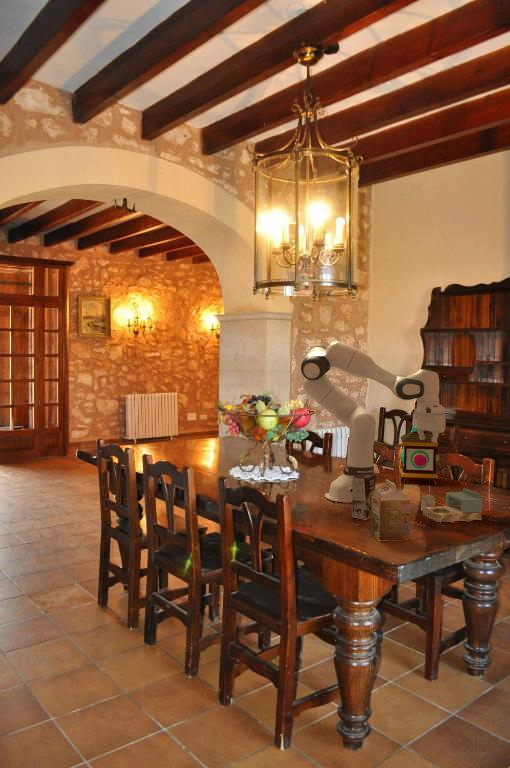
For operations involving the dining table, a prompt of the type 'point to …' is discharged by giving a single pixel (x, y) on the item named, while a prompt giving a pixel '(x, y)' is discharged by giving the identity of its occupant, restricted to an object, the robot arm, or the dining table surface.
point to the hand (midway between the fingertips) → (428, 441)
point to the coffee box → (362, 495)
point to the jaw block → (427, 501)
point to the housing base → (450, 514)
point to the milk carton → (390, 513)
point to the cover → (465, 500)
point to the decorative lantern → (418, 457)
